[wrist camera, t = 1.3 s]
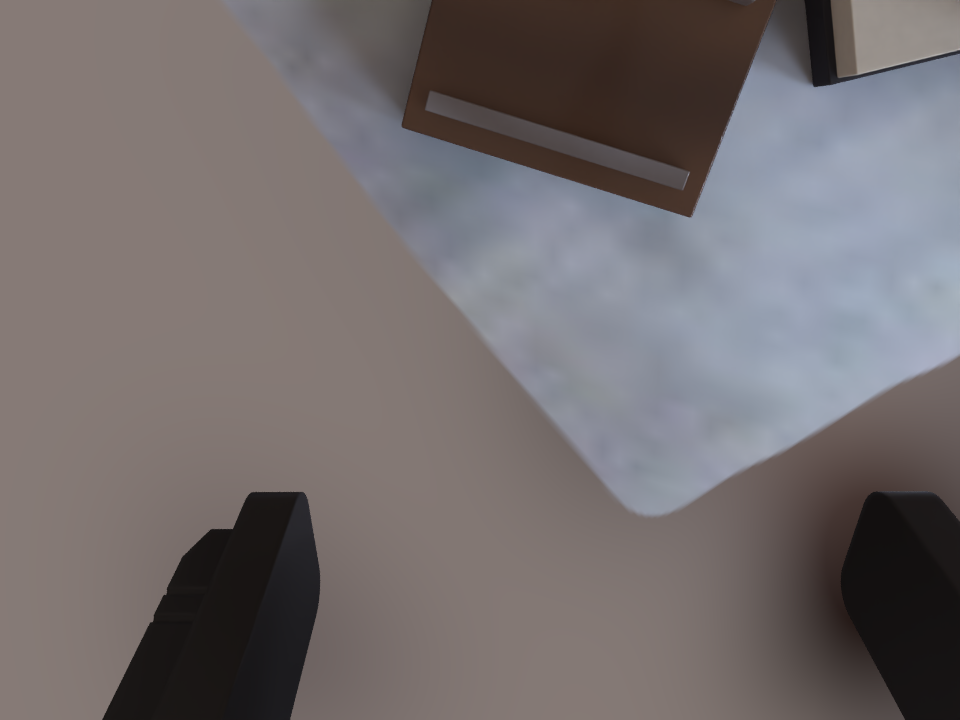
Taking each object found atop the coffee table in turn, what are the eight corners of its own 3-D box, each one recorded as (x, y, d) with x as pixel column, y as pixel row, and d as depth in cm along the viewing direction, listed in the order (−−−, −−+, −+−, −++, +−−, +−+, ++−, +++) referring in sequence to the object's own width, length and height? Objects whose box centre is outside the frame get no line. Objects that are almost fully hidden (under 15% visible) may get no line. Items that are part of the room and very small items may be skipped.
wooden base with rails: (473, -114, 30) (461, -150, 26) (768, -21, 30) (801, -43, 26) (413, 126, 34) (394, 127, 30) (680, 210, 34) (697, 222, 30)
